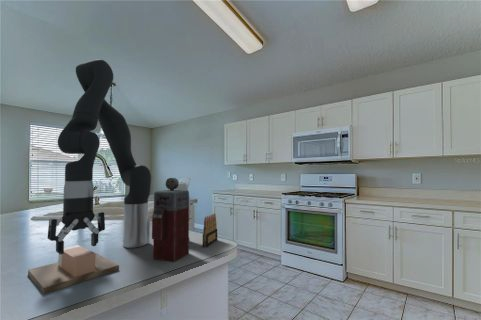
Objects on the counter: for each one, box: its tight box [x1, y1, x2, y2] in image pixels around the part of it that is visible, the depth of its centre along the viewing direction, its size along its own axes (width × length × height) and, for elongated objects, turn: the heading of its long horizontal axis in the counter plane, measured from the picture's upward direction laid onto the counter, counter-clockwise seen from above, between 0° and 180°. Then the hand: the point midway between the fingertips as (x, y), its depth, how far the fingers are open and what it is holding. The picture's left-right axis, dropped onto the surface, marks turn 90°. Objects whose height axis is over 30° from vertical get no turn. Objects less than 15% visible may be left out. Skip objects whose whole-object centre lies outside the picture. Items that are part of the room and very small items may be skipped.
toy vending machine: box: [151, 177, 190, 263], centre depth 82 cm, size 9×11×28 cm
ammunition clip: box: [202, 212, 218, 249], centre depth 98 cm, size 11×2×12 cm, turn 161°
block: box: [57, 244, 97, 277], centre depth 69 cm, size 5×5×14 cm
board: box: [27, 252, 120, 295], centre depth 70 cm, size 18×18×2 cm
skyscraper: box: [174, 177, 191, 243], centre depth 101 cm, size 8×8×28 cm
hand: (78, 249), depth 70 cm, fingers open, 8 cm apart
